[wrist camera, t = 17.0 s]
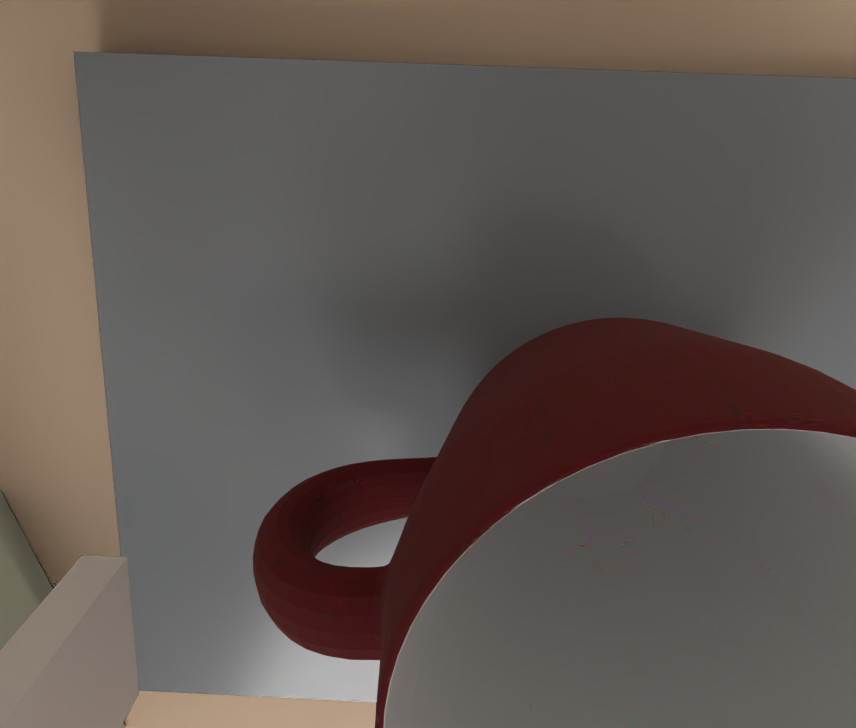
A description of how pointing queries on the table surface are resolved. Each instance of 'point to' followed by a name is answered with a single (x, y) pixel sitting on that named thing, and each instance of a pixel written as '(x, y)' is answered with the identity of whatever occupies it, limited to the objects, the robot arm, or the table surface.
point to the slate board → (407, 284)
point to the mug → (597, 544)
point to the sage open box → (18, 577)
